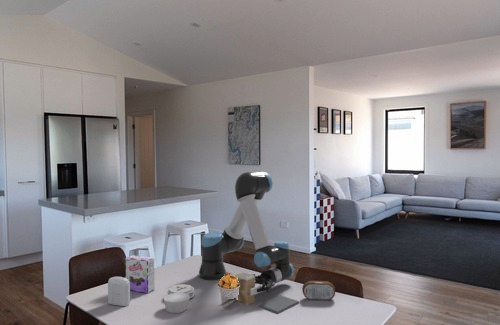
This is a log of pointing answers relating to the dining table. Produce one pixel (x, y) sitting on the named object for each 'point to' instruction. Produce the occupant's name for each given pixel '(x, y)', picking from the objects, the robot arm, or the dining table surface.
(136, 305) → the dining table surface
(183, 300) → the ramekin
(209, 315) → the dining table surface
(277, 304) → the charcoal mat
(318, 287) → the tin
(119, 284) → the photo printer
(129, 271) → the candy box
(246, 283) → the oak block
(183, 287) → the lid
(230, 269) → the dining table surface
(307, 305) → the dining table surface
